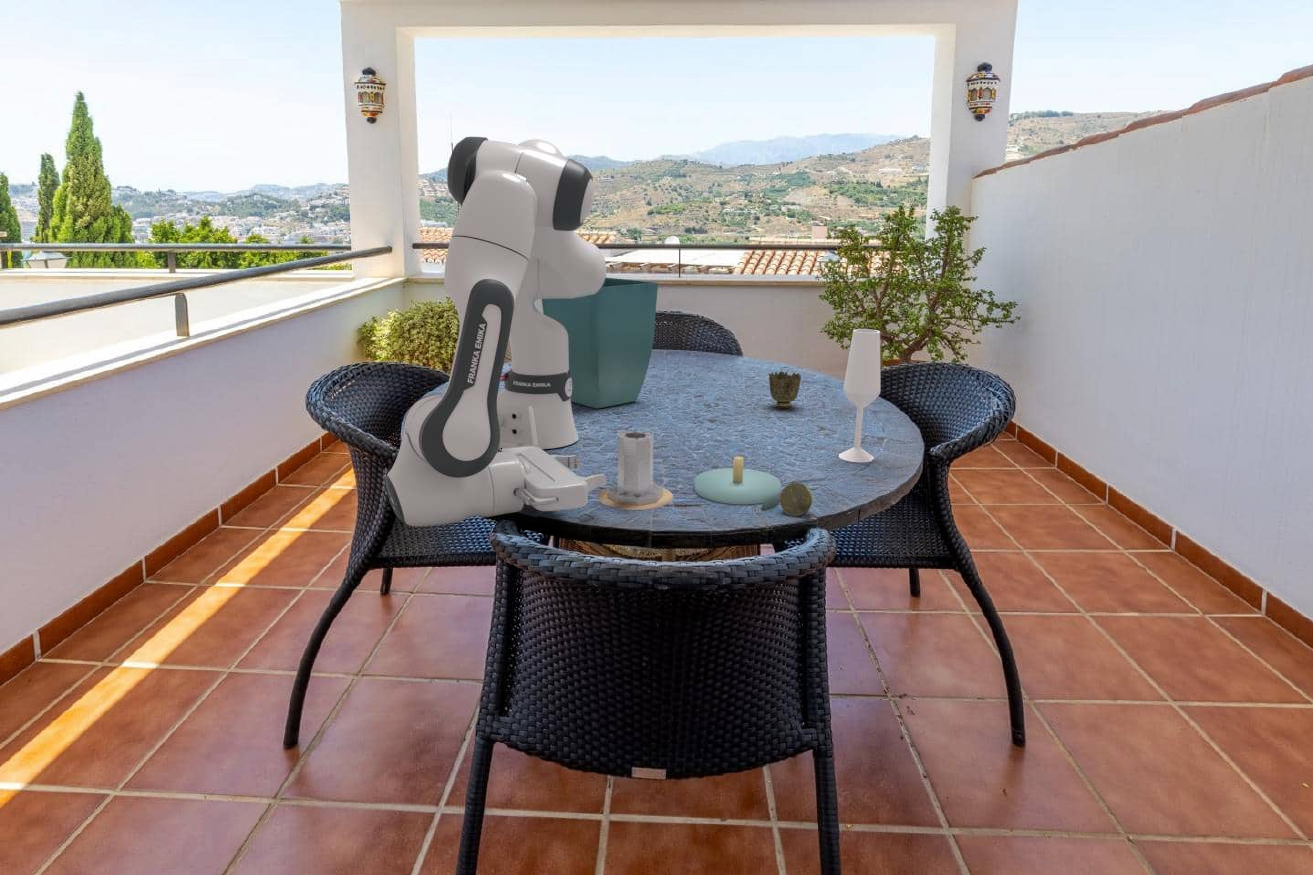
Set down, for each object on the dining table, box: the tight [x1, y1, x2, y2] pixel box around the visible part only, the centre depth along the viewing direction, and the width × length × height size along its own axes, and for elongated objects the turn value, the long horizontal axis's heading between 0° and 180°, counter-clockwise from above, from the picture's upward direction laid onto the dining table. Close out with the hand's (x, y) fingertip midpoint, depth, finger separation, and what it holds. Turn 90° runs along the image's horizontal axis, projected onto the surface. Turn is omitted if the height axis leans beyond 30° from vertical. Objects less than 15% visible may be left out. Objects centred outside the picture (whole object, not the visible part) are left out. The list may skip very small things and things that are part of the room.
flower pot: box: [541, 277, 659, 409], centre depth 194 cm, size 20×20×28 cm
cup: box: [768, 370, 802, 410], centre depth 193 cm, size 8×7×8 cm
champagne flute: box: [838, 328, 881, 463], centre depth 154 cm, size 7×7×24 cm
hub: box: [694, 456, 782, 511], centre depth 135 cm, size 14×14×6 cm
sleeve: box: [607, 430, 664, 506], centre depth 130 cm, size 8×8×10 cm
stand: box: [597, 486, 674, 511], centre depth 132 cm, size 12×12×1 cm
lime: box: [779, 481, 813, 517], centre depth 128 cm, size 4×5×5 cm
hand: (591, 469), depth 127 cm, fingers open, 8 cm apart
